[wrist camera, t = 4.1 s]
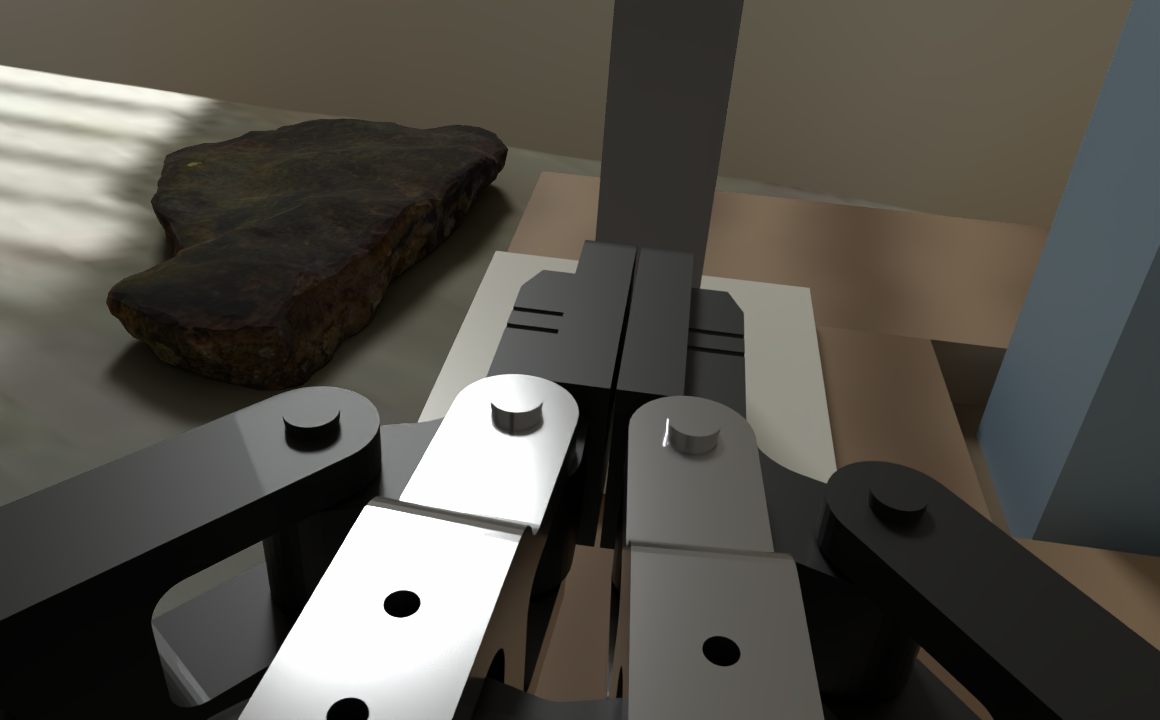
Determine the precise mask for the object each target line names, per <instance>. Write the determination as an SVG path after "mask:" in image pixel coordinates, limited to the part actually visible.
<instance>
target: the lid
mask: <svg viewBox="0 0 1160 720" xmlns="http://www.w3.org/2000/svg"><path fill="white" fill-rule="evenodd" d="M743 2H744V0H615V5H614V16H613V29H612V41H611V53H610V65H609V78H608V91H607V102H606V115H605V128H604V140H603V152H602V164H601V176H600V188H599V201H598V213H597V225H596V237H595V241H601V242H609V243H618V244H626V245H635V246H637V258H636V267H635V276H634V286H633V293H634V287H635V282H636V276H637V270H638V265H639V259H640V253H641V248H642V246H645V247H653V248H662V249H670V250H678V251H687V252H694V259H693V273H692V288H700V289H708V290H717V291H725V292H728V293H729V294H730V295H731V296H732V298H733V299H734V300H735V302H736V303H737V304H738V306H739V307H740V308H741V310H742V311H743V312H744V339H745V355H744V357H745V382H746V421H747V422H748V423H749V424H750V425H751V427H752V429H753V431H754V433H755V436H756V441H757V447H758V448H759V449H760V450H761V451H762V452H763V453H764V454H766V455H767V456H768V457H769V458H771V459H772V460H774V461H775V462H776V463H778V464H780V465H782V466H783V467H785V468H787V469H789V470H792V471H794V472H796V473H799V474H801V475H804V476H807V477H810V478H813V479H815V480H818V481H821V482H824V483H827V482H828V479H829V478H830V477H831V475H832V474H833V473H834V472H836V471H837V469H836V462H835V455H834V449H833V442H832V435H831V428H830V422H829V415H828V408H827V401H826V395H825V388H824V381H823V375H822V368H821V361H820V354H819V348H818V341H817V334H816V327H815V321H814V314H813V307H812V301H811V294H810V288H806V287H797V286H789V285H781V284H772V283H764V282H755V281H747V280H738V279H730V278H721V277H713V276H704V275H702V273H703V266H704V260H705V253H706V246H707V240H708V233H709V227H710V220H711V213H712V207H713V200H714V193H715V187H716V180H717V173H718V166H719V160H720V154H721V147H722V141H723V133H724V127H725V121H726V114H727V108H728V101H729V94H730V88H731V81H732V75H733V67H734V61H735V54H736V48H737V41H738V35H739V28H740V21H741V15H742V9H743ZM578 262H579V261H577V260H569V259H560V258H552V257H543V256H535V255H526V254H518V253H509V252H501V251H496V252H495V254H494V256H493V259H492V261H491V263H490V265H489V267H488V270H487V272H486V274H485V276H484V278H483V281H482V283H481V285H480V287H479V289H478V291H477V294H476V296H475V298H474V300H473V302H472V305H471V307H470V309H469V311H468V313H467V315H466V318H465V320H464V322H463V324H462V326H461V329H460V331H459V333H458V335H457V337H456V340H455V342H454V344H453V346H452V348H451V350H450V353H449V355H448V357H447V359H446V361H445V364H444V366H443V368H442V370H441V372H440V374H439V377H438V379H437V381H436V383H435V385H434V388H433V390H432V392H431V394H430V396H429V398H428V401H427V403H426V405H425V407H424V409H423V412H422V414H421V416H420V418H419V420H418V423H419V422H427V421H431V420H436V419H440V418H443V417H446V415H447V414H448V412H449V410H450V408H451V406H452V405H453V403H454V401H455V399H456V398H457V396H458V395H459V394H460V392H462V391H463V390H464V389H465V388H466V387H468V386H469V385H471V384H473V383H475V382H477V381H479V380H481V379H485V378H486V376H487V374H488V371H489V368H490V366H491V363H492V361H493V358H494V355H495V353H496V350H497V348H498V345H499V342H500V340H501V337H502V335H503V332H504V329H505V327H507V322H508V319H509V316H510V314H511V311H512V310H513V306H514V303H515V301H516V298H517V296H518V293H519V290H520V288H521V286H522V285H523V284H524V283H526V282H527V281H529V280H530V279H531V278H533V277H534V276H535V275H537V274H538V273H539V272H541V271H542V270H550V271H558V272H566V273H575V272H576V269H577V265H578ZM632 299H633V295H632ZM608 465H609V463H608ZM607 475H608V469H607ZM607 475H606V481H605V487H604V492H603V494H606V484H607Z"/></svg>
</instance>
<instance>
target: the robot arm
mask: <svg viewBox="0 0 1160 720" xmlns="http://www.w3.org/2000/svg"><path fill="white" fill-rule="evenodd" d="M636 258H637V246H635V245H626V244H618V243H609V242H601V241H592V240H585V242H584V245H583V248H582V252H581V255H580V259H579V262H578V265H577V269H576V272H575V273H566V272H558V271H550V270H542V271H541V272H539V273H538V274H537V275H535V276H534V277H533V278H531V279H530V280H529V281H527V282H526V283H524V284H523V285H522V286H521V288H520V290H519V293H518V296H517V298H516V301H515V303H514V306H513V310H512V311H511V314H510V316H509V319H508V322H507V327H505V329H504V332H503V335H502V337H501V340H500V342H499V345H498V348H497V350H496V353H495V355H494V358H493V361H492V363H491V366H490V368H489V371H488V374H487V376H486V378H485V379H481V380H479V381H477V382H475V383H473V384H471V385H469V386H468V387H466V388H465V389H464V390H463V391H462V392H460V394H459V395H458V396H457V398H456V399H455V401H454V403H453V405H452V406H451V408H450V410H449V412H448V414H447V415H446V417H443V418H440V419H436V420H431V421H427V422H419V423H408V424H395V425H382V426H380V418H379V414H378V411H377V409H376V408H375V406H374V405H373V404H372V403H371V402H370V401H369V400H368V399H366V398H365V397H363V396H362V395H360V394H358V393H355V392H353V391H350V390H346V389H342V388H336V387H325V386H318V387H306V388H299V389H295V390H290V391H287V392H284V393H281V394H278V395H276V396H273V397H271V398H268V399H266V400H263V401H261V402H258V403H256V404H253V405H251V406H249V407H246V408H244V409H241V410H239V411H236V412H234V413H231V414H229V415H226V416H224V417H221V418H219V419H216V420H214V421H211V422H209V423H207V424H204V425H202V426H199V427H197V428H194V429H192V430H189V431H187V432H184V433H182V434H179V435H177V436H174V437H172V438H169V439H167V440H165V441H162V442H160V443H157V444H155V445H152V446H150V447H147V448H145V449H142V450H140V451H137V452H135V453H132V454H130V455H127V456H125V457H123V458H120V459H118V460H115V461H113V462H110V463H108V464H105V465H103V466H100V467H98V468H95V469H93V470H90V471H88V472H85V473H83V474H81V475H78V476H76V477H73V478H71V479H68V480H66V481H63V482H61V483H58V484H56V485H53V486H51V487H48V488H46V489H43V490H41V491H38V492H36V493H34V494H31V495H29V496H26V497H24V498H21V499H19V500H16V501H14V502H11V503H9V504H6V505H4V506H1V507H0V720H982V719H981V718H980V717H978V716H977V715H976V714H975V713H974V712H973V711H972V710H971V709H970V708H969V707H968V706H967V705H966V704H965V703H964V702H963V701H962V700H961V699H960V698H959V697H957V696H956V695H955V694H954V693H953V692H952V691H951V690H950V689H949V688H948V687H947V686H946V685H945V684H944V683H943V682H942V681H941V680H940V679H939V678H938V677H936V676H935V675H934V674H933V673H932V672H931V671H930V670H929V669H928V668H927V667H926V666H925V665H924V664H923V663H922V662H921V661H920V660H919V659H918V658H917V656H918V653H919V651H920V648H921V647H922V648H923V649H924V650H925V651H926V652H927V653H928V654H929V655H930V656H932V657H933V658H934V659H935V660H936V661H937V662H938V663H939V664H940V665H941V666H942V667H943V668H944V669H945V670H946V671H948V672H949V673H950V674H951V675H952V676H953V677H954V678H955V679H956V680H957V681H958V682H959V683H960V684H961V685H962V686H964V687H965V688H966V689H967V690H968V691H969V692H970V693H971V694H972V695H973V696H974V697H975V698H976V699H977V700H979V702H980V703H981V704H982V705H983V706H984V707H985V708H986V709H987V711H988V712H989V713H990V715H991V716H992V718H993V719H994V720H1160V651H1159V650H1158V649H1157V648H1155V647H1154V646H1153V645H1151V644H1150V643H1149V642H1147V641H1146V640H1145V639H1144V638H1142V637H1141V636H1140V635H1138V634H1137V633H1136V632H1134V631H1133V630H1132V629H1130V628H1129V627H1128V626H1127V625H1125V624H1124V623H1123V622H1121V621H1120V620H1119V619H1117V618H1116V617H1115V616H1113V615H1112V614H1111V613H1110V612H1108V611H1107V610H1106V609H1104V608H1103V607H1102V606H1100V605H1099V604H1098V603H1096V602H1095V601H1094V600H1093V599H1091V598H1090V597H1089V596H1087V595H1086V594H1085V593H1083V592H1082V591H1081V590H1079V589H1078V588H1077V587H1076V586H1074V585H1073V584H1072V583H1070V582H1069V581H1068V580H1066V579H1065V578H1064V577H1063V576H1061V575H1060V574H1059V573H1057V572H1056V571H1055V570H1053V569H1052V568H1051V567H1049V566H1048V565H1047V564H1046V563H1044V562H1043V561H1042V560H1040V559H1039V558H1038V557H1036V556H1035V555H1034V554H1032V553H1031V552H1030V551H1029V550H1027V549H1026V548H1025V547H1023V546H1022V545H1021V544H1019V543H1018V542H1017V541H1015V540H1014V539H1013V538H1012V537H1010V536H1009V535H1008V534H1006V533H1005V532H1004V531H1002V530H1001V529H1000V528H998V527H997V526H996V525H995V524H993V523H992V522H991V521H989V520H988V519H987V518H985V517H984V516H983V515H982V514H980V513H979V512H978V511H976V510H975V509H974V508H972V507H971V506H970V505H968V504H967V503H966V502H965V501H963V500H962V499H961V498H959V497H958V496H957V495H955V494H954V493H953V492H951V491H950V490H949V489H948V488H946V487H945V486H944V485H942V484H941V483H939V482H938V481H936V480H935V479H933V478H932V477H930V476H928V475H926V474H924V473H922V472H920V471H918V470H915V469H913V468H910V467H907V466H903V465H900V464H895V463H891V462H883V461H862V462H855V463H852V464H848V465H846V466H844V467H842V468H840V469H838V470H837V471H836V472H834V473H833V474H832V475H831V477H830V478H829V479H828V482H827V483H824V482H821V481H818V480H815V479H813V478H810V477H807V476H804V475H801V474H799V473H796V472H794V471H792V470H789V469H787V468H785V467H783V466H782V465H780V464H778V463H776V462H775V461H774V460H772V459H771V458H769V457H768V456H767V455H766V454H764V453H763V452H762V451H761V450H760V449H759V448H758V447H757V441H756V436H755V433H754V431H753V429H752V427H751V425H750V424H749V423H748V422H747V421H746V382H745V357H744V355H745V339H744V312H743V311H742V310H741V308H740V307H739V306H738V304H737V303H736V302H735V300H734V299H733V298H732V296H731V295H730V294H729V293H728V292H725V291H717V290H708V289H700V288H692V273H693V259H694V252H687V251H678V250H670V249H662V248H653V247H645V246H642V248H641V253H640V259H639V265H638V270H637V276H636V282H635V287H634V293H633V286H634V276H635V267H636ZM632 295H633V299H632ZM608 463H609V465H608ZM607 469H608V475H607ZM606 475H607V484H606V494H605V503H604V513H603V522H602V531H601V541H600V548H606V549H613V550H614V557H613V566H612V575H611V583H610V592H609V600H608V616H607V640H606V664H605V688H604V699H599V700H584V701H570V702H555V701H549V700H546V699H543V698H540V697H537V696H535V695H534V694H535V691H536V688H537V684H538V681H539V678H540V674H541V671H542V668H543V664H544V661H545V658H546V654H547V651H548V648H549V644H550V641H551V638H552V634H553V631H554V628H555V624H556V621H557V618H558V614H559V611H560V608H561V604H562V601H563V597H564V592H565V580H566V576H567V575H568V573H569V571H570V569H571V566H572V562H573V557H574V552H575V547H576V545H583V546H590V547H594V545H595V540H596V534H597V528H598V522H599V516H600V510H601V504H602V498H603V492H604V487H605V481H606ZM260 541H263V547H264V554H265V560H266V561H265V562H263V563H261V564H259V565H257V566H256V567H254V568H252V569H250V570H248V571H246V572H244V573H242V574H240V575H238V576H236V577H234V578H232V579H230V580H228V581H227V582H225V583H223V584H221V585H219V586H217V587H215V588H213V589H211V590H209V591H207V592H205V593H203V594H201V595H199V596H198V597H196V598H194V599H192V600H190V601H188V602H186V603H184V604H182V605H180V606H178V607H176V608H174V609H172V610H170V611H169V612H167V613H165V614H163V615H161V616H159V617H157V618H155V619H153V620H152V614H153V611H154V609H155V607H156V605H157V603H158V602H159V600H160V599H161V598H162V596H163V595H164V594H165V593H166V592H167V591H168V590H169V589H170V588H172V587H173V586H174V585H176V584H177V583H179V582H180V581H182V580H184V579H186V578H188V577H190V576H192V575H194V574H196V573H198V572H200V571H202V570H204V569H206V568H208V567H210V566H212V565H214V564H216V563H218V562H220V561H222V560H224V559H226V558H228V557H230V556H232V555H234V554H236V553H238V552H240V551H242V550H244V549H246V548H248V547H250V546H252V545H254V544H256V543H258V542H260Z"/></svg>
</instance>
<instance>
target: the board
mask: <svg viewBox="0 0 1160 720" xmlns="http://www.w3.org/2000/svg"><path fill="white" fill-rule="evenodd" d="M599 188H600V178H598V177H589V176H580V175H571V174H563V173H554V172H545V171H542V173H541V175H540V177H539V180H538V182H537V184H536V186H535V189H534V191H533V193H532V196H531V198H530V200H529V203H528V205H527V207H526V209H525V212H524V214H523V216H522V219H521V221H520V223H519V226H518V228H517V230H516V232H515V235H514V237H513V239H512V242H511V244H510V246H509V249H508V251H507V252H509V253H518V254H526V255H535V256H543V257H552V258H560V259H569V260H577V261H579V259H580V255H581V252H582V248H583V245H584V242H585V240H592V241H595V237H596V225H597V213H598V201H599ZM1050 229H1051V228H1046V227H1038V226H1028V225H1020V224H1011V223H1002V222H993V221H984V220H975V219H966V218H957V217H948V216H939V215H930V214H921V213H912V212H903V211H894V210H885V209H876V208H867V207H858V206H849V205H840V204H831V203H823V202H814V201H805V200H796V199H787V198H778V197H769V196H760V195H751V194H742V193H733V192H724V191H715V193H714V200H713V207H712V213H711V220H710V227H709V233H708V240H707V246H706V253H705V260H704V266H703V273H702V275H704V276H713V277H721V278H730V279H738V280H747V281H755V282H764V283H772V284H781V285H789V286H797V287H806V288H810V294H811V301H812V307H813V314H814V321H815V327H816V334H817V341H818V348H819V354H820V361H821V368H822V375H823V381H824V388H825V395H826V401H827V408H828V415H829V422H830V428H831V435H832V442H833V449H834V455H835V462H836V469H837V470H838V469H840V468H842V467H844V466H846V465H848V464H852V463H855V462H862V461H883V462H891V463H895V464H900V465H903V466H907V467H910V468H913V469H915V470H918V471H920V472H922V473H924V474H926V475H928V476H930V477H932V478H933V479H935V480H936V481H938V482H939V483H941V484H942V485H944V486H945V487H946V488H948V489H949V490H950V491H951V492H953V493H954V494H955V495H957V496H958V497H959V498H961V499H962V500H963V501H965V502H966V503H967V504H968V505H970V506H971V507H972V508H974V509H975V510H976V511H978V512H979V513H980V514H982V515H983V516H984V517H985V518H987V519H988V520H989V521H991V522H992V523H993V524H995V525H996V526H997V527H998V528H1000V529H1001V530H1002V531H1004V532H1005V533H1006V534H1008V535H1009V536H1010V537H1012V535H1011V532H1010V529H1009V527H1008V524H1007V521H1006V518H1005V515H1004V513H1003V510H1002V507H1001V504H1000V501H999V499H998V496H997V493H996V490H995V487H994V485H993V482H992V479H991V476H990V473H989V471H988V468H987V465H986V462H985V459H984V457H983V454H982V451H981V448H980V445H979V443H978V440H977V437H976V433H977V430H978V428H979V425H980V422H981V419H982V417H983V414H984V411H985V408H986V406H987V403H988V400H989V397H990V394H991V392H992V389H993V386H994V383H995V381H996V378H997V375H998V372H999V370H1000V367H1001V364H1002V361H1003V359H1004V356H1005V353H1006V350H1007V348H1008V345H1009V342H1010V339H1011V337H1012V334H1013V331H1014V328H1015V326H1016V323H1017V320H1018V317H1019V315H1020V312H1021V309H1022V306H1023V304H1024V301H1025V298H1026V295H1027V293H1028V290H1029V287H1030V284H1031V282H1032V279H1033V276H1034V273H1035V270H1036V268H1037V265H1038V262H1039V259H1040V257H1041V254H1042V251H1043V248H1044V246H1045V243H1046V240H1047V237H1048V235H1049V232H1050ZM604 503H605V494H603V498H602V504H601V510H600V516H599V522H598V528H597V534H596V540H595V545H594V547H590V546H583V545H576V547H575V552H574V557H573V562H572V566H571V569H570V571H569V573H568V575H567V576H566V580H565V592H564V597H563V601H562V604H561V608H560V611H559V614H558V618H557V621H556V624H555V628H554V631H553V634H552V638H551V641H550V644H549V648H548V651H547V654H546V658H545V661H544V664H543V668H542V671H541V674H540V678H539V681H538V684H537V688H536V691H535V694H534V695H535V696H537V697H540V698H543V699H546V700H549V701H555V702H570V701H584V700H599V699H604V688H605V664H606V640H607V616H608V600H609V592H610V583H611V575H612V566H613V557H614V550H613V549H606V548H600V541H601V531H602V522H603V513H604ZM1012 538H1013V539H1014V540H1015V541H1017V542H1018V543H1019V544H1021V545H1022V546H1023V547H1025V548H1026V549H1027V550H1029V551H1030V552H1031V553H1032V554H1034V555H1035V556H1036V557H1038V558H1039V559H1040V560H1042V561H1043V562H1044V563H1046V564H1047V565H1048V566H1049V567H1051V568H1052V569H1053V570H1055V571H1056V572H1057V573H1059V574H1060V575H1061V576H1063V577H1064V578H1065V579H1066V580H1068V581H1069V582H1070V583H1072V584H1073V585H1074V586H1076V587H1077V588H1078V589H1079V590H1081V591H1082V592H1083V593H1085V594H1086V595H1087V596H1089V597H1090V598H1091V599H1093V600H1094V601H1095V602H1096V603H1098V604H1099V605H1100V606H1102V607H1103V608H1104V609H1106V610H1107V611H1108V612H1110V613H1111V614H1112V615H1113V616H1115V617H1116V618H1117V619H1119V620H1120V621H1121V622H1123V623H1124V624H1125V625H1127V626H1128V627H1129V628H1130V629H1132V630H1133V631H1134V632H1136V633H1137V634H1138V635H1140V636H1141V637H1142V638H1144V639H1145V640H1146V641H1147V642H1149V643H1150V644H1151V645H1153V646H1154V647H1155V648H1157V649H1158V650H1159V651H1160V557H1156V556H1149V555H1141V554H1134V553H1127V552H1119V551H1112V550H1104V549H1097V548H1089V547H1082V546H1075V545H1067V544H1060V543H1052V542H1045V541H1037V540H1030V539H1023V538H1015V537H1012ZM917 658H918V659H919V660H920V661H921V662H922V663H923V664H924V665H925V666H926V667H927V668H928V669H929V670H930V671H931V672H932V673H933V674H934V675H935V676H936V677H938V678H939V679H940V680H941V681H942V682H943V683H944V684H945V685H946V686H947V687H948V688H949V689H950V690H951V691H952V692H953V693H954V694H955V695H956V696H957V697H959V698H960V699H961V700H962V701H963V702H964V703H965V704H966V705H967V706H968V707H969V708H970V709H971V710H972V711H973V712H974V713H975V714H976V715H977V716H978V717H980V718H981V719H982V720H994V719H993V718H992V716H991V715H990V713H989V712H988V711H987V709H986V708H985V707H984V706H983V705H982V704H981V703H980V702H979V700H977V699H976V698H975V697H974V696H973V695H972V694H971V693H970V692H969V691H968V690H967V689H966V688H965V687H964V686H962V685H961V684H960V683H959V682H958V681H957V680H956V679H955V678H954V677H953V676H952V675H951V674H950V673H949V672H948V671H946V670H945V669H944V668H943V667H942V666H941V665H940V664H939V663H938V662H937V661H936V660H935V659H934V658H933V657H932V656H930V655H929V654H928V653H927V652H926V651H925V650H924V649H923V648H922V647H921V648H920V651H919V653H918V656H917Z"/></svg>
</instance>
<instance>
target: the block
mask: <svg viewBox="0 0 1160 720" xmlns="http://www.w3.org/2000/svg"><path fill="white" fill-rule="evenodd" d="M976 437H977V440H978V443H979V445H980V448H981V451H982V454H983V457H984V459H985V462H986V465H987V468H988V471H989V473H990V476H991V479H992V482H993V485H994V487H995V490H996V493H997V496H998V499H999V501H1000V504H1001V507H1002V510H1003V513H1004V515H1005V518H1006V521H1007V524H1008V527H1009V529H1010V532H1011V535H1012V537H1015V538H1023V539H1030V540H1037V541H1045V542H1052V543H1060V544H1067V545H1075V546H1082V547H1089V548H1097V549H1104V550H1112V551H1119V552H1127V553H1134V554H1141V555H1149V556H1156V557H1160V0H1133V3H1132V6H1131V9H1130V12H1129V14H1128V17H1127V20H1126V23H1125V25H1124V28H1123V31H1122V34H1121V36H1120V39H1119V42H1118V45H1117V47H1116V50H1115V53H1114V56H1113V58H1112V61H1111V64H1110V67H1109V69H1108V72H1107V75H1106V78H1105V80H1104V83H1103V86H1102V89H1101V92H1100V94H1099V97H1098V100H1097V102H1096V105H1095V108H1094V111H1093V113H1092V116H1091V119H1090V122H1089V124H1088V127H1087V130H1086V133H1085V136H1084V138H1083V141H1082V144H1081V147H1080V150H1079V152H1078V155H1077V158H1076V160H1075V163H1074V166H1073V169H1072V171H1071V174H1070V177H1069V180H1068V183H1067V185H1066V188H1065V191H1064V194H1063V196H1062V199H1061V202H1060V204H1059V207H1058V210H1057V213H1056V215H1055V218H1054V221H1053V224H1052V226H1051V229H1050V232H1049V235H1048V237H1047V240H1046V243H1045V246H1044V248H1043V251H1042V254H1041V257H1040V259H1039V262H1038V265H1037V268H1036V270H1035V273H1034V276H1033V279H1032V282H1031V284H1030V287H1029V290H1028V293H1027V295H1026V298H1025V301H1024V304H1023V306H1022V309H1021V312H1020V315H1019V317H1018V320H1017V323H1016V326H1015V328H1014V331H1013V334H1012V337H1011V339H1010V342H1009V345H1008V348H1007V350H1006V353H1005V356H1004V359H1003V361H1002V364H1001V367H1000V370H999V372H998V375H997V378H996V381H995V383H994V386H993V389H992V392H991V394H990V397H989V400H988V403H987V406H986V408H985V411H984V414H983V417H982V419H981V422H980V425H979V428H978V430H977V433H976Z"/></svg>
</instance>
